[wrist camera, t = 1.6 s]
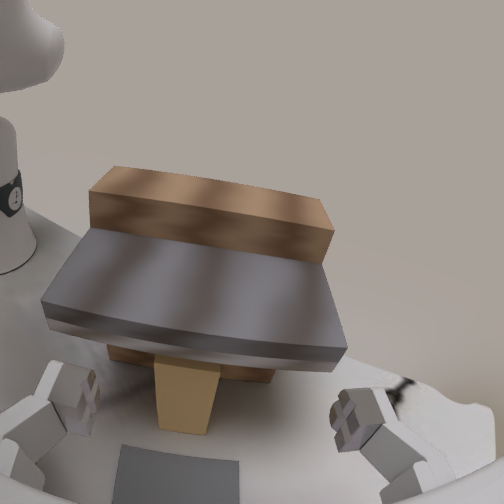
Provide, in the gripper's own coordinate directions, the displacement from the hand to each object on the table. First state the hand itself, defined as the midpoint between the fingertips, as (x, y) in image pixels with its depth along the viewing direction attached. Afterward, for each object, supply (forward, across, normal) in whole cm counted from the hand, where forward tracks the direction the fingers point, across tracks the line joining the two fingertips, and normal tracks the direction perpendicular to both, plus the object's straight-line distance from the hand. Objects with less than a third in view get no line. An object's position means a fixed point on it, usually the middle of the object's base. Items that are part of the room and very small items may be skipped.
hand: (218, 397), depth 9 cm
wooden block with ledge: (+18, +2, +22) cm, 28 cm away
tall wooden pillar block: (+13, +2, +22) cm, 26 cm away
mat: (+2, +2, +24) cm, 24 cm away
